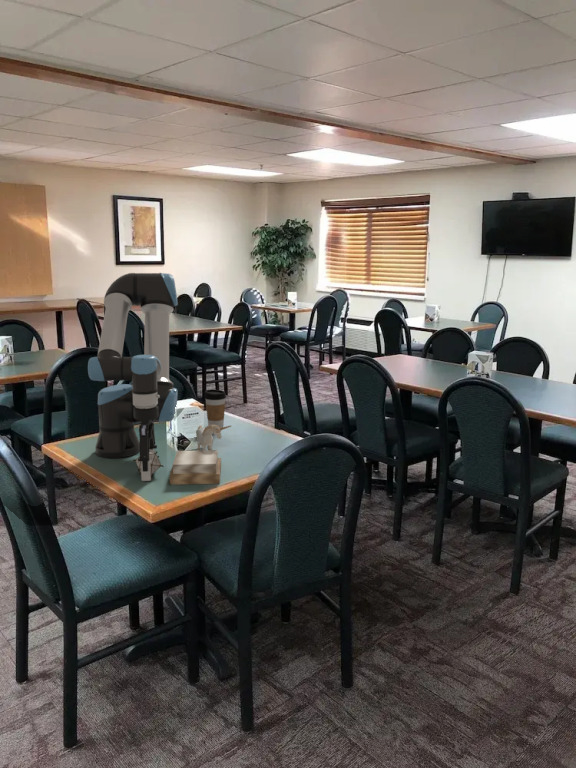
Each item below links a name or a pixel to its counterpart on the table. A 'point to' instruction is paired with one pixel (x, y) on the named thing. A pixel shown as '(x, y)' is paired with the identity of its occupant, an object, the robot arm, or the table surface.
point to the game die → (153, 463)
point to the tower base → (196, 477)
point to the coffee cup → (215, 407)
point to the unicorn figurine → (208, 435)
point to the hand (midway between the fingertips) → (148, 474)
